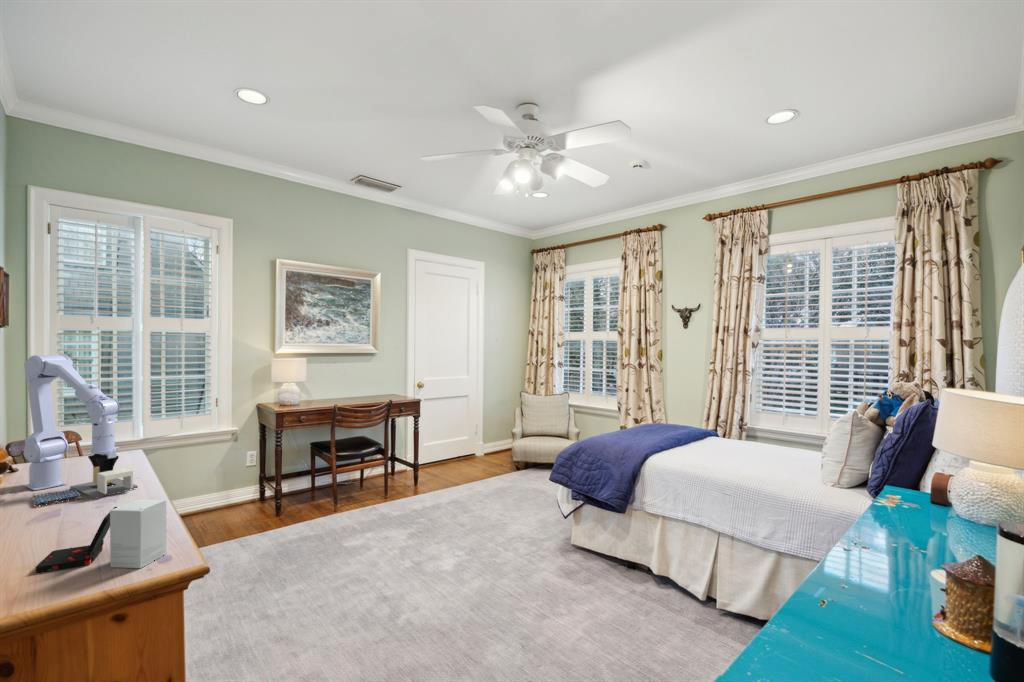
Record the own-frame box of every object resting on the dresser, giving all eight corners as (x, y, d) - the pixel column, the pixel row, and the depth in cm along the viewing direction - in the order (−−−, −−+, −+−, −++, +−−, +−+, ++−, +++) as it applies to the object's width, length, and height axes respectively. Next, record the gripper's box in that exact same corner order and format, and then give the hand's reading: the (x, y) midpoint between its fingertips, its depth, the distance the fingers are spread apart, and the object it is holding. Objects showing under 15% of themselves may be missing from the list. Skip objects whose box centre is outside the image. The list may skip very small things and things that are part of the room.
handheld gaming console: (53, 556, 108) (53, 512, 108) (120, 546, 114) (120, 504, 113) (34, 574, 100) (34, 527, 100) (107, 563, 105) (107, 518, 105)
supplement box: (168, 554, 109) (168, 499, 109) (139, 569, 102) (139, 511, 102) (138, 552, 110) (138, 498, 110) (108, 567, 103) (108, 509, 103)
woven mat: (76, 493, 153) (76, 487, 153) (81, 501, 146) (81, 494, 146) (30, 502, 145) (30, 495, 145) (34, 510, 138) (34, 503, 138)
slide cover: (97, 490, 150) (97, 473, 150) (124, 484, 156) (125, 467, 156) (104, 494, 147) (104, 476, 147) (132, 487, 153) (132, 470, 153)
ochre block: (93, 482, 156) (93, 467, 156) (108, 479, 159) (108, 464, 159) (97, 484, 154) (97, 469, 154) (113, 481, 157) (113, 466, 157)
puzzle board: (70, 489, 156) (70, 486, 156) (115, 480, 166) (115, 477, 166) (91, 499, 146) (91, 495, 146) (137, 488, 157) (137, 485, 157)
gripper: (127, 436, 156) (127, 477, 156) (109, 431, 164) (109, 470, 164) (100, 440, 150) (100, 482, 150) (83, 434, 158) (83, 475, 158)
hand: (103, 476), depth 157 cm, fingers closed on ochre block, 4 cm apart
